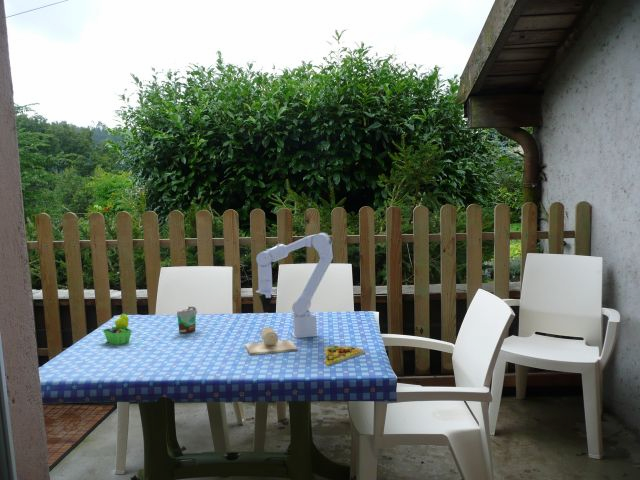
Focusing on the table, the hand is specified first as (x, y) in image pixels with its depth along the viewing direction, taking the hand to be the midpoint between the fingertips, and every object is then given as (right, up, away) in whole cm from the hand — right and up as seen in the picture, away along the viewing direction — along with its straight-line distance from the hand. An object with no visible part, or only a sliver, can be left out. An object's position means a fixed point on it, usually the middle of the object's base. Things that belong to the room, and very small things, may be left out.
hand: (266, 312), depth 237 cm
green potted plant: (-61, -12, -4) cm, 62 cm away
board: (+4, -11, -20) cm, 23 cm away
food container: (-35, -10, +11) cm, 38 cm away
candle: (+2, -7, -12) cm, 14 cm away
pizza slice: (+29, -13, -35) cm, 47 cm away
